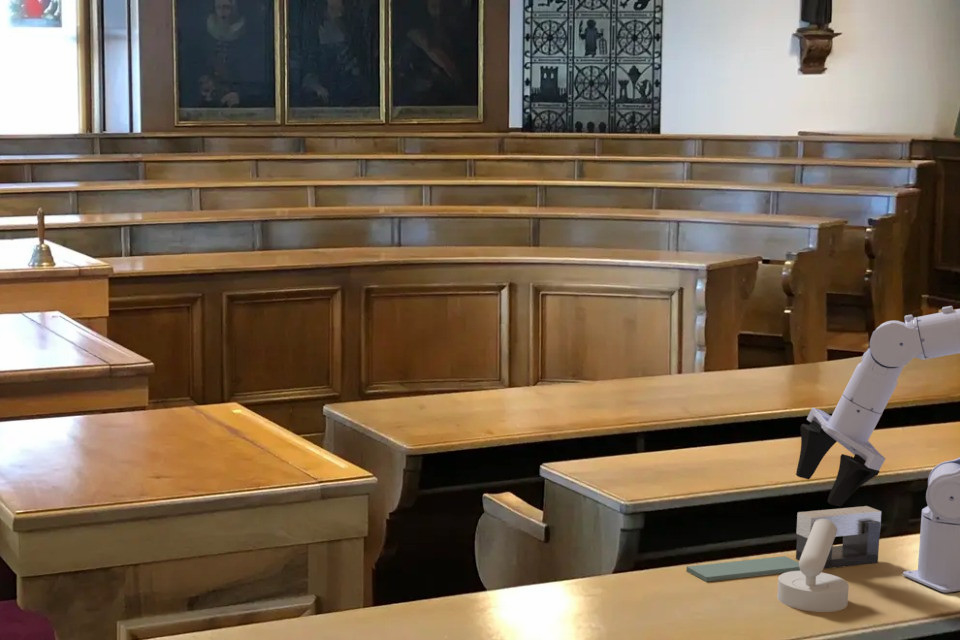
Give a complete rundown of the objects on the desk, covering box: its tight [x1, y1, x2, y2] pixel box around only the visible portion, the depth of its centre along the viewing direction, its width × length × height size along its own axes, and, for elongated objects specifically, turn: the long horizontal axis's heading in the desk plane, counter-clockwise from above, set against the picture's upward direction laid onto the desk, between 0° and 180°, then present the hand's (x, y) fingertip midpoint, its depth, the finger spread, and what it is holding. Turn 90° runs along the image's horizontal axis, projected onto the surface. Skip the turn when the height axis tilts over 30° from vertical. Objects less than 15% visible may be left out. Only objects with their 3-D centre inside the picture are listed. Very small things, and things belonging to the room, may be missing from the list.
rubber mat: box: [685, 555, 801, 582], centre depth 173 cm, size 16×5×1 cm, turn 113°
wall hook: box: [776, 519, 849, 613], centre depth 161 cm, size 9×10×10 cm
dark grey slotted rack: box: [795, 521, 881, 570], centre depth 178 cm, size 10×5×6 cm, turn 113°
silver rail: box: [796, 505, 882, 538], centre depth 178 cm, size 12×3×3 cm, turn 113°
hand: (817, 490), depth 175 cm, fingers open, 7 cm apart
